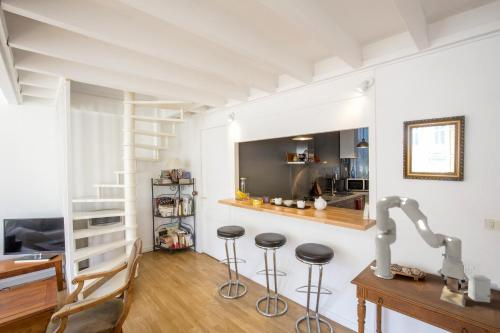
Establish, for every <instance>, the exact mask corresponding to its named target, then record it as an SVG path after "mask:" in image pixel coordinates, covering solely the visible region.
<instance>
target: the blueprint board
mask: <svg viewBox="0 0 500 333" xmlns="http://www.w3.org/2000/svg"><path fill="white" fill-rule="evenodd" d="M439 299H440V300H442V301H444V302H447V303H450V304H454V305H456V306H460V307H462V308H465V306H466V301H467V299H465V298H464V299H463V304H462V305H459V304H456V303H453V302H450V301H447V300H444V299H442V294H441V295H440V298H439Z"/></svg>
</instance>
